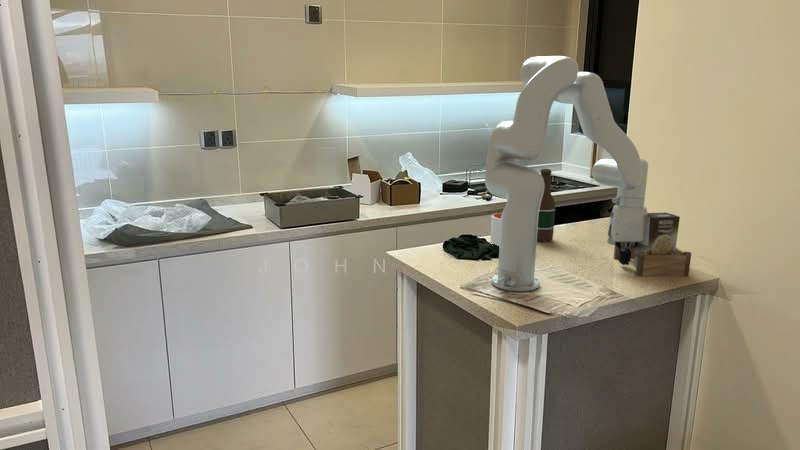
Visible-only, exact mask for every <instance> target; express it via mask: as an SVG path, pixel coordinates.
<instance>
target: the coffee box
mask: <svg viewBox="0 0 800 450" xmlns="http://www.w3.org/2000/svg"><path fill="white" fill-rule="evenodd" d="M680 219H681V217H680V216H678V215H676V214H674V213H673V214H672V213H669V212H647V221H646V232H645V240H644V242H639V245H637V246H636V249H635V257H634V259H633V264H632V265H633V267H635V268H636V267H637V257H638V252H645V255H675V249H676V248H677V242H678V234H679V233H678V232H679V225H680Z"/></svg>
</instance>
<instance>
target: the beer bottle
mask: <svg viewBox="0 0 800 450" xmlns="http://www.w3.org/2000/svg"><path fill="white" fill-rule="evenodd" d="M539 173H540V174H541V175H542V177H543V179H544V185H545V186H544V193H543V197H542V200H541V204H540V209H539V216H538V230H537V241H538V242H537V243H549V242H548V241H550V242H552V241H553V239H554V238H553V237H554V230H555V229H554V228H555V216H556V215H555V214H556V203H555V198H554V196H553V195H552V193H551V186H552V184H551V176H552V175H551V174H552V169H549V168H542V169H540V170H539ZM551 240H552V241H551Z"/></svg>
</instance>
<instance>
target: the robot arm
mask: <svg viewBox="0 0 800 450" xmlns="http://www.w3.org/2000/svg"><path fill="white" fill-rule="evenodd" d="M519 71H520V73H519V74H520V75H519V77H520V80H521V82H522V84H523V85H524V86H523V88H522V89H521V91H520V93H519V95H518V98H517V101H516V106H515V111H514V115H513V119H512V120H504V121H502V122H500V123H498V124H497V125H496V126H495V127H494V129H493V130H492V132H491V135H490V136H489V137H490V138H489V140H488V141H489V142H488V148H487V155H486V162H485V163H486V164H485V171H484V183H485V184H484V185H485V187H486V189H487V191H488V192H489V193H490V194H491V195H493V196H495V197H498V198H501V199H504V200H506V203H505V205H504V207H503V210H502V212H501V213H502V216H501V225H500V226H501V228H500V246H499V248H498V251H499V252H498V265H497V267H498V268H497V274H495V275H493V276H492V277H491V284H492V285H493V286H494V287H496V288H498V289H501V290H504V291H511V292H530V290H531V291H534V289H535V290H537V289H538V288H540V286H539V285H541V282H540V279H538V278H537V277H535V273H536V256H537V243H538V242H537V230H538V216H539V209H540V204H541V200H542V197H543V193H544V186H545V185H544V179H543V177H542V175H541V173H540V171H538V170H537V169H534V168H533V167H531V166H526V165H522V164H518V160H521V161H527V162H530V161H531V162H533V161H536V160H538V159H539V158H541V156H542V155H543V152H544V151H545V150H544V149H545V145H546V139H547V132H548V131H547V130H548V126H549V125H548V124H549V119H550V118H549V117H550V113H551V109H552V106H553V104H554V102H556V103H560V104H568V105H571V104H572V105H573V106H574V111H575V112H576V116H577V118H578V121H579V125H580V128H581V130H582V133H583V135H584V137H586V138H587V139H589V140H590V141H591V142H592V143H594V144H596V145H598V146H599V147H601V149H604V150H605V151H606V153H608V154H609V155H610V157H611V158H609V157H607V158H601V159H599V160H597V161H596V162H595V163H594V165H593V166H592V168H591V176H592V179H593V180H594V181H595V182H597V183H598V184H600V185H604V186H608V187H613V188H617V194H616V197H611V202H612V203H613V204H615V205H613V206H612V207H613V208H612V211H611V214H610V218H609V223H608V228H607V229H608V230H607V237H608V239H607V243H608V244H609V245H612V246H614V247H615V246H616V247H617V248H618V249H619V256H618V260H617V261H618V263H620V264H621V265H622V266H625V265H626V266H629V265H630V262H631V260H632V259H631V252H632V251H633V249H634V248H635V247H636V246H637V245H639V242H644V240H645V232H646V221H647V213H648V208H647V206H646V207H645V199H646V190H647V179H648V170H649V163H648V161H647V160H645V159H641V158H640V154H639V151H638V149H637V147H636V145H635V143H634V142H633V141H632V140H631V139H630V137H629V136H628V135H627V134H626V133H625V131H624V130H622V128H621V127H620V126H618V125H617V123H616V121H615V119H614V116H613V112H612V110H611V106H610V102H609V99H608V95H607V92H606V90H605V86H604V83H603V80H602V78H601V77H600V76H599V75H598V74H596V73H594V72H590V71H580V70H579V63H578V62H577V61H576V60H575V59H574V58H572V57H569V56H564V55H550V56H549V55H547V56H532V57H529V58H528V59H526V60H525V61H524V63H523V64H522V65H521V68H520V70H519ZM625 242H627V243H626V247H625ZM536 288H537V289H536Z"/></svg>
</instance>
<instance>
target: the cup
mask: <svg viewBox="0 0 800 450" xmlns="http://www.w3.org/2000/svg"><path fill="white" fill-rule="evenodd" d="M501 216H502V212H498V213H493V214H492V215H491V223H490V225H491V226H490V244H491V243H492V244H495V245H497V246H500V228H501V226H500V225H501ZM492 244H491V245H492Z"/></svg>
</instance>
